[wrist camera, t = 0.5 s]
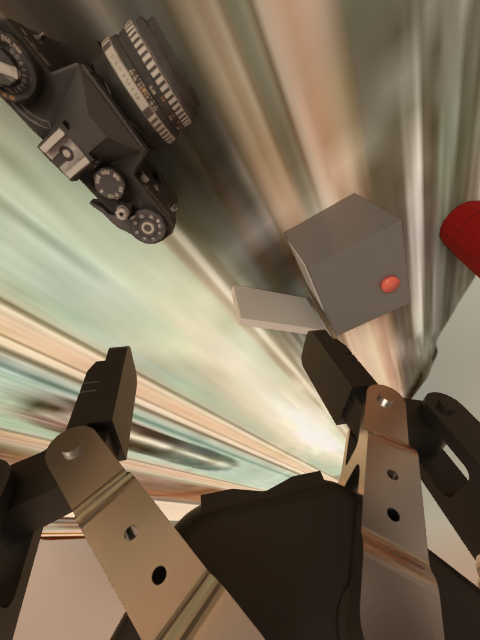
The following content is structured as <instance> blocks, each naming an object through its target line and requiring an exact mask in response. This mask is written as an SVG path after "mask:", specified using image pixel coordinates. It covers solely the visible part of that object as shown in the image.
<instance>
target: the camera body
mask: <svg viewBox="0 0 480 640" xmlns="http://www.w3.org/2000/svg"><path fill="white" fill-rule="evenodd" d="M284 234H285V236H286V239H287V241H288V243H289V245H290V248H291V250H292V252H293V255H294V257H295V259H296V261H297V264H298V266H299V268H300V271H301V273H302V275H303V277H304V280H305V282H306V284H307V286H308V289H309V291H310V293H311V295H312V297H313V299H314V300H315V302H316V304H317V305H318V307H319V309H320V310H321V312H322V313H323V315H324V317H325V318H326V320H327V322H328V323H329V325H330V327H331V328H332V330H333V332H334V333H335V335H336V336H337V335H340V334H342V333H344V332H346V331H349V330H351V329H353V328H355V327H357V326H360V325H362V324H364V323H366V322H368V321H371V320H373V319H375V318H377V317H380V316H382V315H384V314H386V313H388V312H391V311H393V310H395V309H397V308H399V307H402V306H404V305H406V304H408V303H410V295H409V286H408V277H407V268H406V259H405V249H404V240H403V231H402V222H401V220H400V219H399V218H397V217H395V216H394V215H392V214H390V213H388V212H387V211H385V210H383V209H381V208H380V207H378V206H376V205H374V204H373V203H371V202H369V201H368V200H366V199H364V198H362V197H361V196H359V195H357V194H355V193H354V194H352V195H350V196H348V197H346V198H345V199H343V200H341V201H339V202H338V203H336V204H334V205H332V206H330V207H329V208H327V209H325V210H323V211H322V212H320V213H318V214H316V215H315V216H313V217H311V218H309V219H307V220H306V221H304V222H302V223H300V224H299V225H297V226H295V227H293V228H291V229H290V230H288V231H286V232H284Z"/></svg>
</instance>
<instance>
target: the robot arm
mask: <svg viewBox="0 0 480 640" xmlns="http://www.w3.org/2000/svg"><path fill="white" fill-rule="evenodd" d="M302 365H303V367H304V369H305V371H306V373H307V374H308V376H309V378H310V380H311V381H312V383H313V385H314V387H315V388H316V390H317V392H318V394H319V395H320V397H321V399H322V401H323V402H324V404H325V406H326V408H327V409H328V411H329V413H330V415H331V416H332V418H333V420H334V422H335V423H336V425H341V424H347V425H348V427H349V429H348V432H347V437H346V444H345V451H344V458H343V465H342V471H341V475H340V478H339V481H338V483H335V482H332V481H327V480H324V479H323V476H322V474H321V472H320V471H317V472H312V473H307V474H302V475H297V476H293V477H291V478H289V479H287V480H285V481H284V482H282V483H280V484H278V485H276V486H275V487H273V488H271V489H269V490H267V491H252V490H240V489H229V490H224V491H219V492H214V493H209V494H205V495H201V505H200V506H198V507H196V508H194V509H193V510H191V511H190V512H189V513H187V514H186V515H185V516H184V517H183V518H182V519H181V520H180V521H179V522H178V523H177V524H176V525H175V526H173V525H172V524H171V523H170V521H169V520H168V519H167V517H166V516H165V515H164V514H163V512H162V511H161V510H160V508H159V507H158V506H157V505H156V503H155V502H154V501H153V499H152V498H151V497H150V496H149V494H148V493H147V492H146V490H145V489H144V488H143V487H142V485H141V484H140V483H139V481H138V480H137V479H136V478H135V477H134V475H133V474H132V473H130V472H127V471H126V470H125V469H124V468H123V467H122V465H121V464H120V463H119V461H123V460H126V459H127V452H128V445H129V438H130V430H131V423H132V416H133V409H134V402H135V395H136V388H137V375H136V370H135V366H134V361H133V357H132V353H131V349H130V347H129V346H125V347H114V348H109V350H108V353H107V357H106V360H105V361H98V362H95V363H94V365H93V366H92V367H91V368H90V369H89V370H88V371H87V373H86V376H85V379H84V382H83V384H82V387H81V390H80V393H79V395H78V398H77V401H76V404H75V407H74V409H73V412H72V415H71V418H70V420H69V423H68V426H67V428H66V431H64V432H62V433H61V434H59V435H58V436H57V437H56V438H55V439H54V440H53V441H52V442H51V443H50V445H49V446H48V448H47V449H46V450H44V451H43V452H41V453H39V454H36V455H34V456H31V457H29V458H27V459H24V460H22V461H19V462H17V463H14V464H12V465H9V464H8V463H7V462H6V461H4V460H1V459H0V640H12V639H13V635H14V631H15V628H16V624H17V621H18V617H19V613H20V610H21V606H22V602H23V599H24V595H25V592H26V588H27V584H28V581H29V577H30V573H31V569H32V566H33V562H34V559H35V555H36V552H37V548H38V544H39V541H40V537H41V533H42V530H43V527H44V526H46V525H48V524H50V523H52V522H54V521H56V520H58V519H60V518H61V517H63V516H65V515H67V514H69V513H71V512H73V513H74V515H75V519H76V521H77V523H78V525H79V527H80V528H81V530H82V532H83V534H84V536H85V538H86V539H87V541H88V543H89V545H90V547H91V548H92V550H93V552H94V554H95V556H96V558H97V559H98V561H99V563H100V565H101V567H102V568H103V570H104V572H105V574H106V576H107V578H108V579H109V581H110V583H111V585H112V587H113V588H114V590H115V592H116V594H117V596H118V598H119V600H120V601H121V603H122V605H123V607H124V609H125V610H126V612H125V613H124V615H123V617H122V619H121V621H120V623H119V624H118V626H117V628H116V630H115V632H114V633H113V635H112V637H111V639H110V640H480V422H479V421H478V420H477V419H475V417H473V415H472V414H471V413H470V412H469V411H468V410H467V409H466V408H465V407H464V406H463V405H461V404H460V403H459V402H458V401H457V400H455V399H453V398H452V397H450V396H448V395H445V394H442V393H437V392H432V393H429V394H427V395H426V397H425V398H424V400H423V401H420V400H413V399H406V398H403V397H402V396H401V395H400V394H399V393H398V392H396V391H395V390H394V389H392V388H390V387H387V386H384V385H378V384H377V382H376V381H375V380H374V379H373V378H372V376H371V375H370V374H369V373H368V372H367V370H366V369H365V368H364V367H363V366H362V364H361V363H360V362H359V361H357V358H356V357H355V356H354V355H352V352H351V351H350V350H349V349H348V348H347V346H346V345H344V344H343V343H341V342H340V341H338V340H337V339H333V338H332V337H331V336H330V335H329V333H328V332H327V331H326V330H324V329H323V330H312V331H308V332H307V335H306V339H305V343H304V348H303V352H302ZM446 444H447V445H448V446H449V448H450V449H451V450H452V451H453V452H454V454H455V455H456V456H457V457H458V458H459V460H460V461H461V462H462V463H463V464H464V466H465V467H466V469H467V471H468V473H469V481H468V480H467V478H466V477H465V476H464V475H463V474H462V472H461V471H460V470H459V469H458V467H457V466H456V465H455V464H454V462H453V461H452V460H451V459H450V457H449V456H448V455H447V454H446V452H445V451H444V450H443V448H444V447H445V445H446ZM421 480H422V481H423V483H424V484H425V486H426V487H427V489H428V490H429V492H430V493H431V495H432V496H433V498H434V499H435V501H436V502H437V504H438V505H439V507H440V508H441V510H442V511H443V513H444V514H445V516H446V517H447V519H448V520H449V522H450V523H451V524H452V526H453V527H454V529H455V531H456V532H457V534H458V535H459V536H460V538H461V540H462V541H463V543H464V544H465V545H466V547H467V548H468V550H469V551H470V553H471V554H472V556H473V557H474V559H475V560H476V568H477V572H478V575H479V578H478V580H477V584H478V587H479V588H478V587H477V586H476V585H474V584H473V583H472V582H471V581H469V580H468V579H466V578H465V577H464V576H463V575H461V574H460V573H459V572H458V571H456V570H455V569H454V568H452V567H451V566H450V565H449V564H447V563H446V562H445V561H443V560H442V559H441V558H440V557H438V556H437V555H436V554H434V553H433V552H432V551H430V550H429V549H428V548H427V538H426V527H425V518H424V508H423V497H422V489H421V488H422V487H421Z"/></svg>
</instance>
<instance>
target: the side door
mask: <svg viewBox="0 0 480 640" xmlns="http://www.w3.org/2000/svg"><path fill="white" fill-rule="evenodd" d="M232 296H233V301H234V305H235V310H236V315H237V320H238V325H244V326H251V327H259V328H266V329H273V330H280V331H288V332H295V333H302V334H307V332H308V331H312V330H323V329H324V330H326V331H327V332H328V333H329V331H328V329H327V328H326V326H325V324H324V323H323V321H322V319H321V318H320V316H319V314H318V312H317V311H316V309H315V307H314V306H313V304H312V302H311V301H310V299H309V298H308V297H306V298H303V297H297V296H292V295H286V294H281V293H275V292H270V291H264V290H259V289H254V288H248V287H243V286H237V285H233V288H232ZM329 335H330V333H329ZM330 336H331V335H330Z"/></svg>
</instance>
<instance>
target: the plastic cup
mask: <svg viewBox="0 0 480 640" xmlns="http://www.w3.org/2000/svg"><path fill="white" fill-rule="evenodd" d="M440 238H441V240H442V241H443V243H444V244H445V245H446V246H447V247H448V248H449V249H450V250H451V251H452V252H453V253H454V254H455V256H456V257H457V258H458V259H460V260H461V261H462V262H463V263H464V264H465V265H466V266H467V267H468V268H469V269H470V270H471V271H473V272H474V273H475V274H476V275H477V276H478V277H479V278H480V201H468V202H466V203H464V204H461V205H459V206H458V207H457V208H456V209H454V210H453V211H452V212H451V213H450V214H449V215H448V216H447V218H446V219H445V220H444V222H443V224H442V226H441V228H440Z"/></svg>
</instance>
